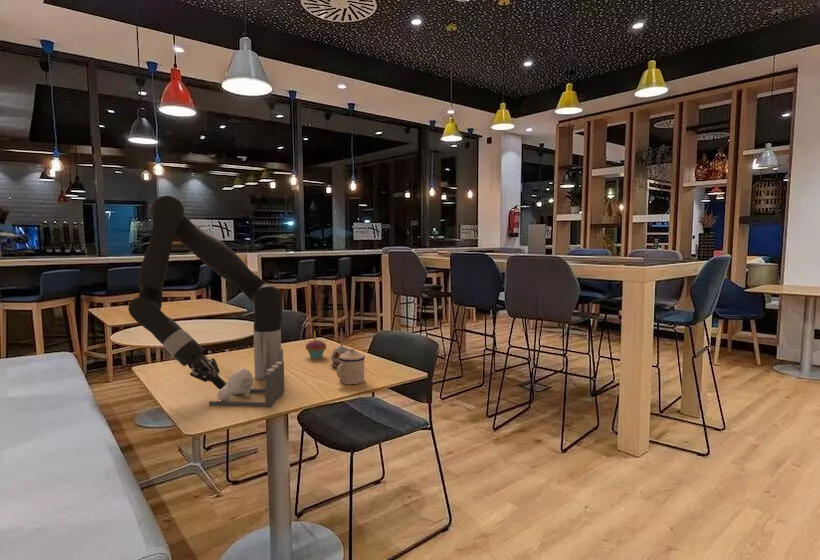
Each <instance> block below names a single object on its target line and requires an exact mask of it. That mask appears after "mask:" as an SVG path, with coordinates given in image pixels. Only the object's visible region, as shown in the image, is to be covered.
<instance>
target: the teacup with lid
mask: <svg viewBox="0 0 820 560" xmlns="http://www.w3.org/2000/svg"><path fill="white" fill-rule="evenodd" d="M348 349H349V351H347V352H346V353H344V354H341V355H340V356H339V366H338V367H336V375H337V377H338V379H339V382H340V383H341V384H342V383H343V385H347V384H348V386H352V385H351V384H355V385H360V384H362V383H364V381H365V358H366V355H365V354H364V353H361V352H358V351H357V350H356V348H354V347H350V348H348ZM359 383H360V384H359Z"/></svg>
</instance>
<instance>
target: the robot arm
mask: <svg viewBox="0 0 820 560" xmlns="http://www.w3.org/2000/svg"><path fill="white" fill-rule="evenodd" d="M148 212H149V217H150V219H151V221H152V229H151V233H150V238H149V242H148V245H147V247H146V251H145V254H144V257H143V259H142V263H141V266H140V271H139V275H138V278H137V286H138V288H139V295H138V297H135V298H133V299H132V300H131V301H130V302H129V304H128V309H127V310H128V312H129V315H130V316H131V317H132V319H133V320H135V322H137V323H138V324H140V326H141V327H143V328H144V329H146V330H147V331H149V332H150V333H151V334H152V336H154V338H155V339H156V340H158V342H160V343H161V345H162V346H164V349H166V350H167V352H168V353H169V354H170V355H171V356H172V357H174V358H175V359H176V361H178V363H180V365H182V367H186V366H188V368H189V369H191V372H190V373H189V375H190V376H191V377H192V378H195V379H197V380H199V381H202V382H205V383H207V382H209V383H212V384H213V386H215V387H216V388H217V389H218V390H221V389H222V388H223V387H225V384H226V383H227V382H225V380H223V378H222V377H221V376H219V373H220V372H221V371H220V368H219V366H218V364H217V361H216V359H215V358H211V359H210V358H208V357H207V355H205V354H203V352H204V348H203V347H202V346H201V345H200V344H199V343H198V342H197V340H195V339H194V338H193V337H192V336H191V335H190V334H189V333H188V332H187V331H186V330H184V329H183V328H182V327H181V326H180V325H179V324H178V323H177V322H176V321H175V320H174V319H172V318H171V317H169V316H167V315H166V314H165V313H164V312H162V305H163V286H164V284H165V279H166V276H167V270H168V265H169V262H170V261H169V259H170V255H171V254H170V253H171V250H172V245H173V242H174V239H176V240H178V241H179V242H180V243H182V245H184V246H185V247H186V248H187V249H188V250H189V251H190V253H192V254H193V255H195V256H196V257H197V258H198V259H199V260H200V261H201V262H202V263H203V264H204V265H206V266H207V267H208V268H209V269H211V270H212V271H213V272H214V273H216V274H217V275H219V276H220V277H221V278H222V279H224V280H225V281H227V282H228V283H231V284H232V285H234V286H235V287H236V288H238V289H239V290H240V291H241V293H243V294H244V295H245V296H246V297H247V298H248V299H249V300H250V301H251V302H252V304H253V305H254V321H253V353H254V354H253V355H254V356H253V357H254V358H253V360H254V361H253V363H254V364H253V365H254V378H255V379H256V380H259V381H265V374H266V373H267V369H272V368H271V366H272V365H275V362H284V349H283V348H282V336H281V335H282V333H281V331H282V328H281V326H282V321H283V297H282V294H281V292H280V290H279V289H278V288H277V287H276V286H274V285H271V284H269V283H267V282H266V281H265V280H263V279H262V278H260V277H259V276H258V275H256V274H255V273H254V272H253V271H252V270H251V269H250V268H249V267H248V266H247V264H245V262H244V261H243V260H242V258H241V257H240V256H239V255H237V253H236V252H235V251H233V250H232V248H231V247H229V246H228V245H226V243H225V242H223V241H222V240H220V239H218V238H217V237H216V236H214V235H212V234H210V233H209V232H207V231H205V230H203V229H201V228H199V227H198V226H197V225H196V224H194V223H193V222H192V221H191V220H190V219H189V218H188V217H187V215H185V208H184V205H183V203H182V201H181V200H180V199H179V198H177V197H175V196H173V195H168V194H167V195H162V196H160V197H158V198H156V199H155V200H154V201H153V203H152V204H151V206H150V208H149V211H148Z"/></svg>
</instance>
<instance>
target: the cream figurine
mask: <svg viewBox="0 0 820 560" xmlns="http://www.w3.org/2000/svg"><path fill="white" fill-rule="evenodd" d="M225 383H226V384H225V386H224V387H223V388H222V389H219V391H218V392H217V398H218V401H231V400H233V399H232V398H231V397H233V396H237V395H240V394H244V396H245V397H246V398H248V397H250V394H251V393H250V391H251V388H253V387H252V386H253V384H254V377H253V376H252V373H251V371H250V370H248V369H246V368H245V367H244V368H243V367H242V368H238V369H236V370H235V371H233V373H232V374H231V375H229V377H228V379H227V382H225Z"/></svg>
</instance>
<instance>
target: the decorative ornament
mask: <svg viewBox="0 0 820 560" xmlns="http://www.w3.org/2000/svg"><path fill="white" fill-rule="evenodd" d="M349 349H350V348H348V347H346V346H344V345H343V328H340V346H337V347H335V348H334V349H333V351H332V354H331V355H330V359H331V362H332V363H330V366H331V367H333V368H337V367H338V366H339V356H340V355H341V354H344V353H346V352H347V351H349Z"/></svg>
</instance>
